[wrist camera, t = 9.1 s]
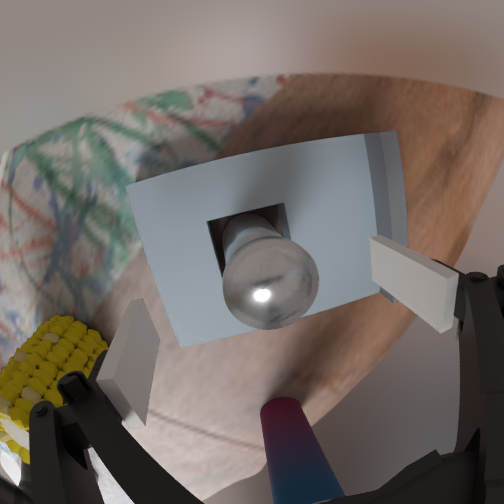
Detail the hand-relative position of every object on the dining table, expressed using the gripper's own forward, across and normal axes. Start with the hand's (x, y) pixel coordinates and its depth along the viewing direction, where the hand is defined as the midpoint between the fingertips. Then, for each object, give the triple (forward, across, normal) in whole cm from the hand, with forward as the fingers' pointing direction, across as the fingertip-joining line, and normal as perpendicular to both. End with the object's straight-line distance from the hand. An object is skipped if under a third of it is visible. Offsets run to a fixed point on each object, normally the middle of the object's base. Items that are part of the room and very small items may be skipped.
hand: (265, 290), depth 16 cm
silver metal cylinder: (+10, +1, 0) cm, 10 cm away
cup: (+10, 0, -22) cm, 24 cm away
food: (+10, -20, -7) cm, 24 cm away
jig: (+10, +3, 0) cm, 10 cm away
